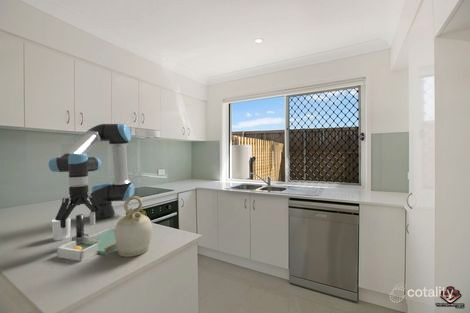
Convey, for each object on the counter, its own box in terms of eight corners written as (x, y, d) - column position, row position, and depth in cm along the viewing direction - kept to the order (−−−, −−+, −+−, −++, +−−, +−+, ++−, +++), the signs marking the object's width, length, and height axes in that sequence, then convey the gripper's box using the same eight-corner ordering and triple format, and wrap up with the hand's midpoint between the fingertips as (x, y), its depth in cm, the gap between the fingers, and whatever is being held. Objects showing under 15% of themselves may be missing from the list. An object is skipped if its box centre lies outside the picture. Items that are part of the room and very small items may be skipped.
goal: (74, 249, 99) (74, 240, 99) (98, 252, 95) (97, 244, 95) (57, 256, 92) (56, 247, 92) (81, 261, 88) (81, 251, 88)
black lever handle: (82, 238, 107) (81, 213, 106) (103, 241, 103) (102, 215, 103) (71, 242, 102) (71, 216, 102) (93, 245, 98) (93, 218, 98)
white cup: (69, 234, 118) (68, 216, 118) (73, 237, 113) (72, 218, 113) (50, 238, 112) (49, 219, 112) (54, 242, 107) (53, 222, 107)
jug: (151, 255, 92) (149, 197, 92) (110, 261, 88) (109, 200, 87) (153, 241, 107) (152, 191, 106) (119, 245, 102) (118, 193, 102)
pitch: (107, 231, 122) (107, 226, 122) (142, 235, 115) (142, 230, 115) (66, 248, 100) (65, 242, 100) (106, 254, 93) (106, 248, 93)
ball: (78, 252, 96) (77, 243, 95) (85, 253, 94) (84, 244, 94) (69, 257, 92) (68, 248, 92) (76, 258, 91) (75, 249, 90)
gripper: (96, 181, 116) (96, 220, 116) (44, 189, 92) (45, 238, 93) (106, 182, 114) (107, 221, 114) (56, 190, 90) (57, 240, 91)
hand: (79, 229), depth 103 cm, fingers open, 13 cm apart
